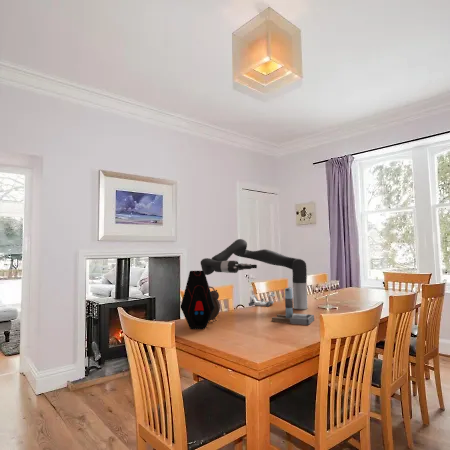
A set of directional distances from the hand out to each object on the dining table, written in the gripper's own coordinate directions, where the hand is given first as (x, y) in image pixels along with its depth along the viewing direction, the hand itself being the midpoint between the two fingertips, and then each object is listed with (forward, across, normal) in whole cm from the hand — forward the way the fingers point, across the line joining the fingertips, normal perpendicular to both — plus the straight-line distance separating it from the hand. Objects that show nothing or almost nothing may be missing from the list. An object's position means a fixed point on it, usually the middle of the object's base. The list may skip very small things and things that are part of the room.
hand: (253, 266), depth 203 cm
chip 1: (+25, 0, -30) cm, 39 cm away
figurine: (-18, +34, -30) cm, 49 cm away
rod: (+21, 0, -30) cm, 37 cm away
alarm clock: (-21, +20, -30) cm, 42 cm away
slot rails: (+18, 0, -30) cm, 35 cm away
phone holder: (-13, -44, -31) cm, 55 cm away
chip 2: (+29, 0, -30) cm, 42 cm away
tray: (+28, 0, -30) cm, 41 cm away
